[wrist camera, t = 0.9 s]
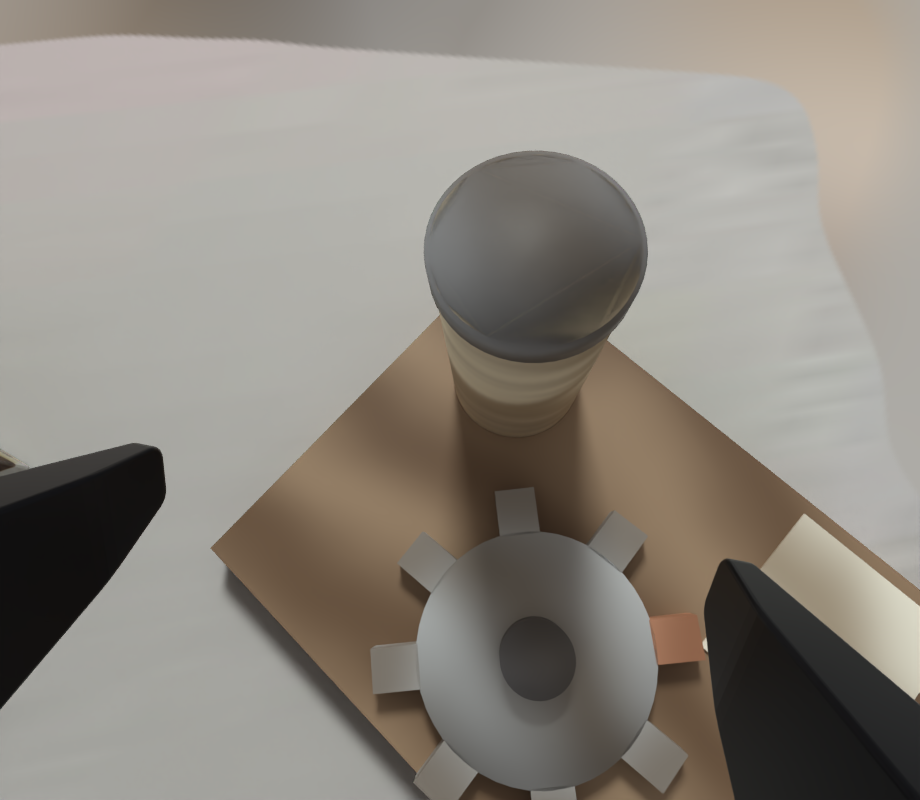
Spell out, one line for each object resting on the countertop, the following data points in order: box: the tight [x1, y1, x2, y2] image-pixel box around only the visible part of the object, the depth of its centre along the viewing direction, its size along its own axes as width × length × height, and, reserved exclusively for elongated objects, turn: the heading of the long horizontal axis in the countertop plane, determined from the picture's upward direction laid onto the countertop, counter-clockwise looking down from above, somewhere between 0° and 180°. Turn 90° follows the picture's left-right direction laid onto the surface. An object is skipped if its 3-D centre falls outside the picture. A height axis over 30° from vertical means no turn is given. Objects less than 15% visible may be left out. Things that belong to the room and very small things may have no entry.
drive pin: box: [424, 151, 648, 438], centre depth 18 cm, size 5×5×10 cm
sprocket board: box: [211, 315, 920, 800], centre depth 21 cm, size 16×22×3 cm
